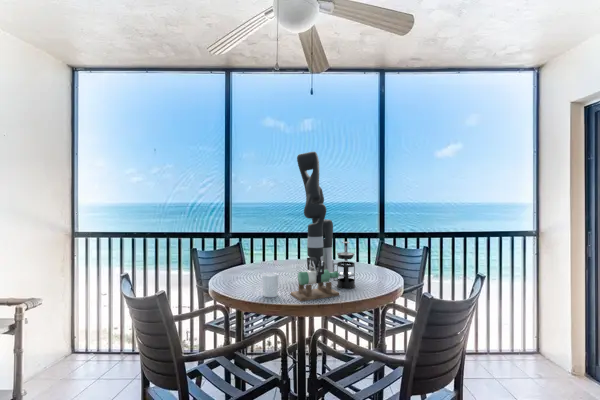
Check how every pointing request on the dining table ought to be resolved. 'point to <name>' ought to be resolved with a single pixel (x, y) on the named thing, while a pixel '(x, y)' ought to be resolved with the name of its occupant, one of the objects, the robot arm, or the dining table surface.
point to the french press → (345, 270)
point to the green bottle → (310, 277)
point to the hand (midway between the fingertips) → (315, 281)
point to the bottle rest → (314, 292)
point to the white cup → (270, 284)
